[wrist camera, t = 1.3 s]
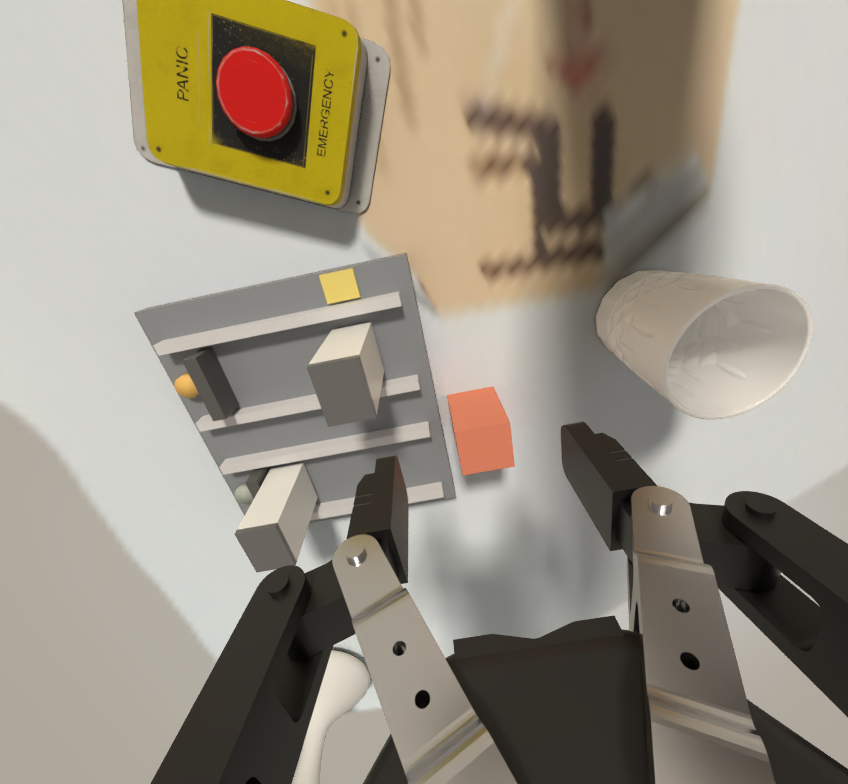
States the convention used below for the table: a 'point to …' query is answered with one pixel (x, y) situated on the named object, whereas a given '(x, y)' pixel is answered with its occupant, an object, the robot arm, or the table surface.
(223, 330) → the board
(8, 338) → the table surface
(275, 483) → the block
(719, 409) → the white cup
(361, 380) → the off-white rectangular block
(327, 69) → the emergency button
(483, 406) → the cap
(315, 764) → the flower in vase
